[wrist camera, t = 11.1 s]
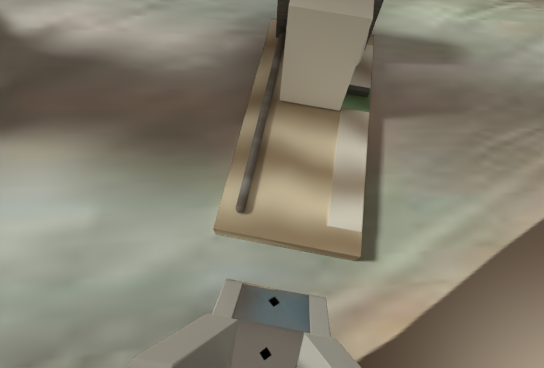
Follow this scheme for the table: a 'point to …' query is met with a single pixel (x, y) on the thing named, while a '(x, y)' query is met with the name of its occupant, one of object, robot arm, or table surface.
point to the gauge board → (299, 165)
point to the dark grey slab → (283, 15)
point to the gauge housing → (324, 50)
